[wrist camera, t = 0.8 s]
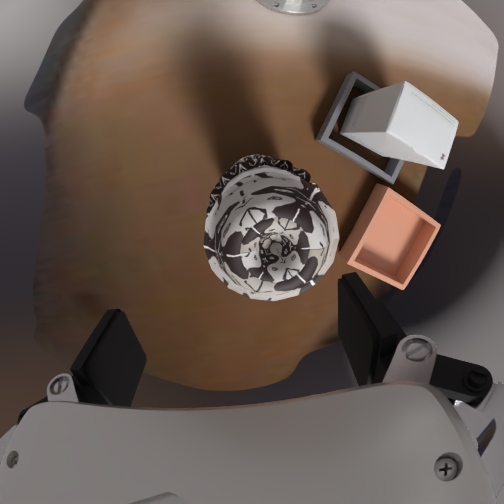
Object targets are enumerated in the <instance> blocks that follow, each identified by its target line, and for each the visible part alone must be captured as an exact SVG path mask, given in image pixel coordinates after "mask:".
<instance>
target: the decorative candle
mask: <svg viewBox="0 0 504 504" xmlns="http://www.w3.org/2000/svg"><path fill="white" fill-rule="evenodd" d="M310 178H311V176H310V174H309V173H308V172H307V171H305V170H303V169H297V168H294V167H293V165H292V163H291V162H290V161H288V160H280V159H279V160H275V159H274V158H272V157H270V156H264V155H260V154H254V155H250V156H245V157H243V158H242V159H240V160H239V161H237V162H236V163H235V164H234V165H233V166H232V167H231V168H230V170H228V171H227V172H226V173H225V174H224V175H223V176H221V178H220V182H219V183H217V184H216V186H215V189H213V190H212V192H211V194H210V200H211V201H210V205H209V207H208V208H207V219H206V225H205V236H204V248H205V251H206V254H207V257H208V260H209V263H210V266H211V269H212V270H213V271H214V273H215V274H216V275H217V276H218V277H219V278H220V279H221V280H222V281H223V283H224V284H225V285H226V286H227V287H228V288H230V289H232V290H234V291H236V292H238V293H240V294H242V295H244V296H246V297H248V298H250V299H260V300H270V301H276V300H280V299H285V298H289V297H293V296H297V295H299V294H301V293H302V292H304V291H305V290H307V289H308V288H310V287H311V286H313V285H314V284H316V283H317V282H319V281H320V279H321V278H322V277H323V275H324V274H325V272H326V271H327V270H328V268H329V267H330V266H331V264H332V263H333V261H334V257H335V253H336V249H337V245H338V241H339V232H338V225H337V219H336V213H335V212H334V210H333V208H332V207H331V205H330V204H329V202H328V201H327V199H326V197H325V196H324V194H323V193H322V191H321V189H320V188H319V187H318V185H317V184H314V183H309V181H310Z"/></svg>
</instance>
